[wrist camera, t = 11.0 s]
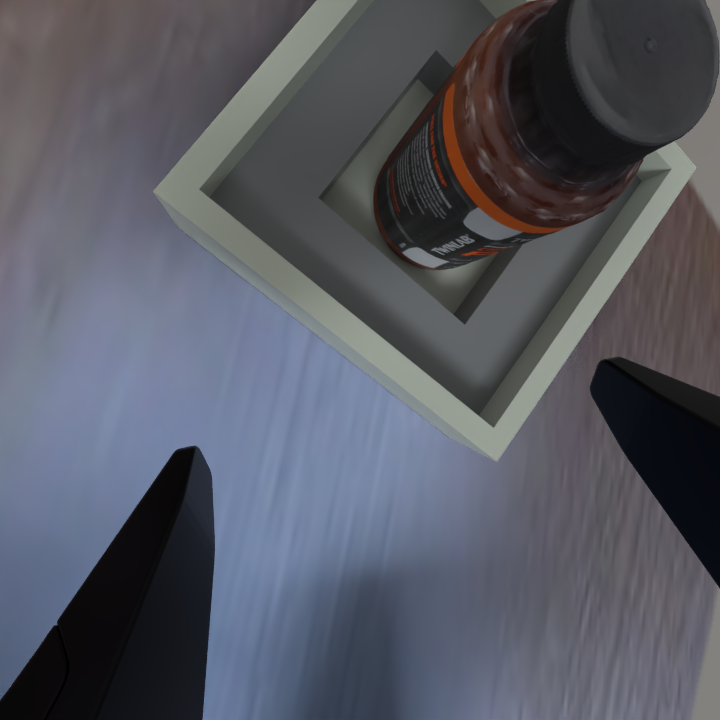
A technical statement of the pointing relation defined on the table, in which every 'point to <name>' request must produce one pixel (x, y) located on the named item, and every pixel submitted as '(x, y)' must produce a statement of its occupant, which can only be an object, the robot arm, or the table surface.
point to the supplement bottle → (544, 124)
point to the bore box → (360, 230)
